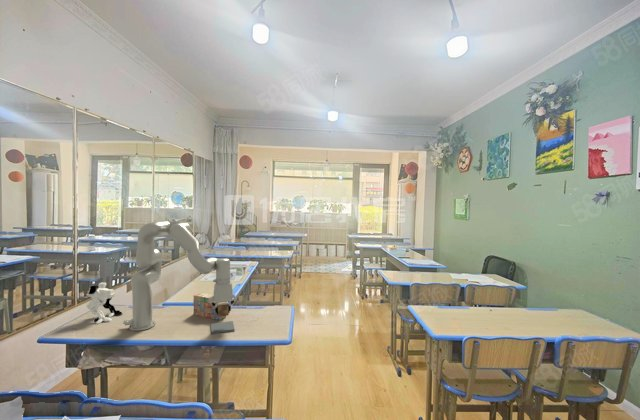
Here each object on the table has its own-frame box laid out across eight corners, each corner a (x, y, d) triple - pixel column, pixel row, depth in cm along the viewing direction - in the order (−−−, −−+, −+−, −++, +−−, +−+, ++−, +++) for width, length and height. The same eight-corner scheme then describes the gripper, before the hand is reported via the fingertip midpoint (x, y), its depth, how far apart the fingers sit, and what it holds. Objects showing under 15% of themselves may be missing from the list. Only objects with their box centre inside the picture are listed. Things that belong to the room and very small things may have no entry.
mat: (211, 333, 160) (211, 332, 160) (211, 325, 171) (211, 323, 171) (234, 330, 164) (234, 329, 164) (232, 322, 176) (232, 320, 176)
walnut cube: (218, 316, 164) (218, 306, 164) (217, 313, 169) (217, 303, 169) (228, 315, 166) (228, 305, 166) (227, 312, 171) (227, 302, 171)
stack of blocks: (226, 317, 184) (226, 297, 184) (219, 320, 178) (219, 300, 178) (201, 311, 193) (201, 292, 193) (193, 314, 188) (193, 294, 187)
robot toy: (105, 324, 170) (104, 289, 170) (80, 324, 170) (79, 289, 170) (126, 312, 189) (126, 280, 189) (104, 312, 189) (103, 280, 188)
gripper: (206, 284, 161) (206, 317, 161) (239, 281, 167) (239, 313, 167) (206, 280, 168) (206, 312, 168) (238, 278, 174) (238, 309, 174)
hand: (223, 312), depth 168 cm, fingers closed on walnut cube, 5 cm apart
